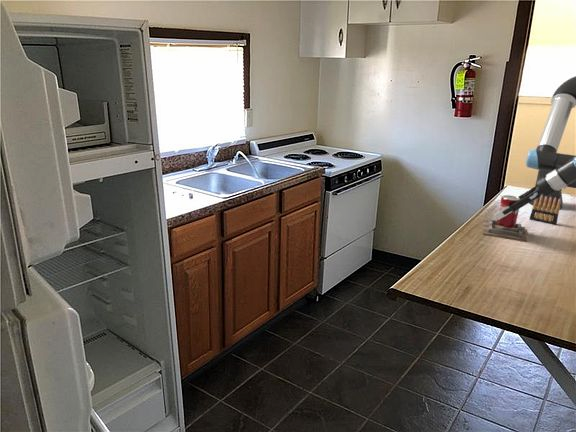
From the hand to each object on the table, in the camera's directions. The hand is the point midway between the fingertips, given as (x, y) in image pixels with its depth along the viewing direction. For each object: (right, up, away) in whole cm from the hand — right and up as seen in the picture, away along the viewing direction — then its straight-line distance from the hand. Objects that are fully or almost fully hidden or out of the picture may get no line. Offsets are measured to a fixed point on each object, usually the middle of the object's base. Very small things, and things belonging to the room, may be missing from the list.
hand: (498, 214), depth 196 cm
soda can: (+3, -5, 0) cm, 6 cm away
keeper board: (+3, -7, +1) cm, 8 cm away
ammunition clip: (+26, -3, +14) cm, 30 cm away
